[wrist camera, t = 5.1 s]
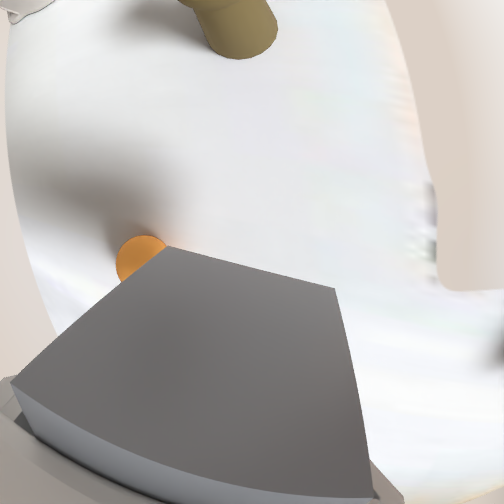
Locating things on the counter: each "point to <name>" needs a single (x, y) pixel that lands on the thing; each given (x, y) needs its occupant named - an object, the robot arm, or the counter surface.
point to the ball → (136, 254)
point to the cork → (236, 26)
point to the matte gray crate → (206, 388)
